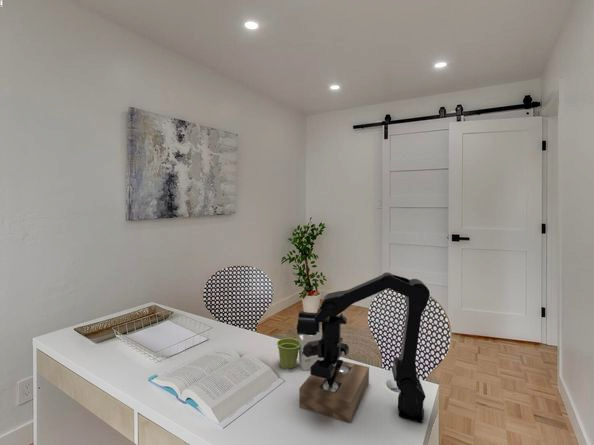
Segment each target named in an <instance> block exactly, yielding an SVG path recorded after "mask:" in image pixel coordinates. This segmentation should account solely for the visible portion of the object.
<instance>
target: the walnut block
mask: <svg viewBox="0 0 594 445" xmlns="http://www.w3.org/2000/svg"><path fill="white" fill-rule="evenodd" d="M342 366H346V367H347V368H348V369H349V373H348V375H345V374H341V373H338V375H337V377H336V379H335V381H334V382H335V383H337V384H338V391H337V392H332V391H328V390H325V389H323V383H325V382H327V379H325V378H321V377H317V376H313V375H311V374H310V375H309V376H308V377H307V378H306V379H305V381H304V382H303V383H302V384H301V386H300V387H299V390H298V391H299V399H298V401H299V404H298V405H299V408H301V409H304V410H307V411H310V412H313V413H317V414H320V415H323V416H326V417H330V418H333V419H336V420H340V421H342V422H346V423H349V424H351V423H352V422H353V418H355V415H356V412H357V410H358V408H359V406H360V403H361V401H362V400H363V398H364V395H365V393H366V391H367V389H368V386H369V385H370V366H367V365H361V364H358V363H352V362H348V361H344V360H343V364H342Z"/></svg>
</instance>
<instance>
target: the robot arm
mask: <svg viewBox="0 0 594 445" xmlns="http://www.w3.org/2000/svg"><path fill="white" fill-rule="evenodd" d="M388 289H389V290H391V291H394V292H395V293H398V294H400V295H402V296H404V297H405V307H406V313H405V319H404V326H403V334H402V344H401V349H400V350H401V351H400V354H399V357H398V358H396V357H393V364H392V368H391V373H392V375H393V381H394V382H395V384H396V388H397V389H398V390H399V391H400V392H399V393H398V397H397V411H398V416H399V417H400V418H403V419H406V420H411V421H413V422H418V423H421V424H422V423H423V422H424V413H425V408H424V402H425V399H426V394H425V390H424V388H423V386H422V383H421V381H420V379H419V378H418V373H417V366H416V364H417V363H416V358H417V353H418V352H417V349H418V344H419V336H420V330H421V320H422V315H423V313H424V311H425V309H426V308H427V305H428V302H429V300H430V295H431V294H430V290H429V288H428V287H427V286H426V284H424V282H423V281H422V280H420V279H418V278H411V279H410V278H407V277H403V276H400V275H396V274H393V273H391V272H383V273H382V274H381V275H379V276H377V277H374V278H372V279H370V280H368V281H365V282H362V283H360V284H358V285H356V286H354V287H352V288H349V289H346V290H337V291H334V292H329V293H327V294H326V295H324V297H323V299H322V303H321V306H319V308H317V311H316V312H308V311H304V310H303V311H301V310H300V311H299V312H298V319H297V325H296V333H297V335H316V334H317V332H320V330H322V338H321V339H320V340H317V341H311V342H308V343H307V344H306V345H305V346H304V348H303V354H304V355H305V356H306V357H310V356H315V355H318V357H319V358H323V360H322V361H320V360H317V361H316V362H315V363H314V364H313V365H312V366H311V367H310V370H309V371H310V373H309V374H310V375H313V376H317V377H321V378H325V379H327V382H328V385H329V386H331V387H332V386H333V384H334V381H335V379H336V377H337V375H338V372H339V370H340V368H341V366H342V364H343V361H344V360H342V359H340V358H341V357H342V355H344V356H348V354H349V353H350V346H348V344H347V343H344V342H343V338H342V337H341V335H342V334H341V331H342V330H341V327H342V326H341V325H347V323H348V322H347V321H348V318H347V317H346V316H345V315H344V314H343V313H342V312H344V311H346V310H347V309H348V308H349V307H350V306H352V305H353V304H355V303H358V302H360V301H362V300H365V299H367V298H369V297H372V296H374V295H377V294H379V293H381V292H384V291H386V290H388Z"/></svg>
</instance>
